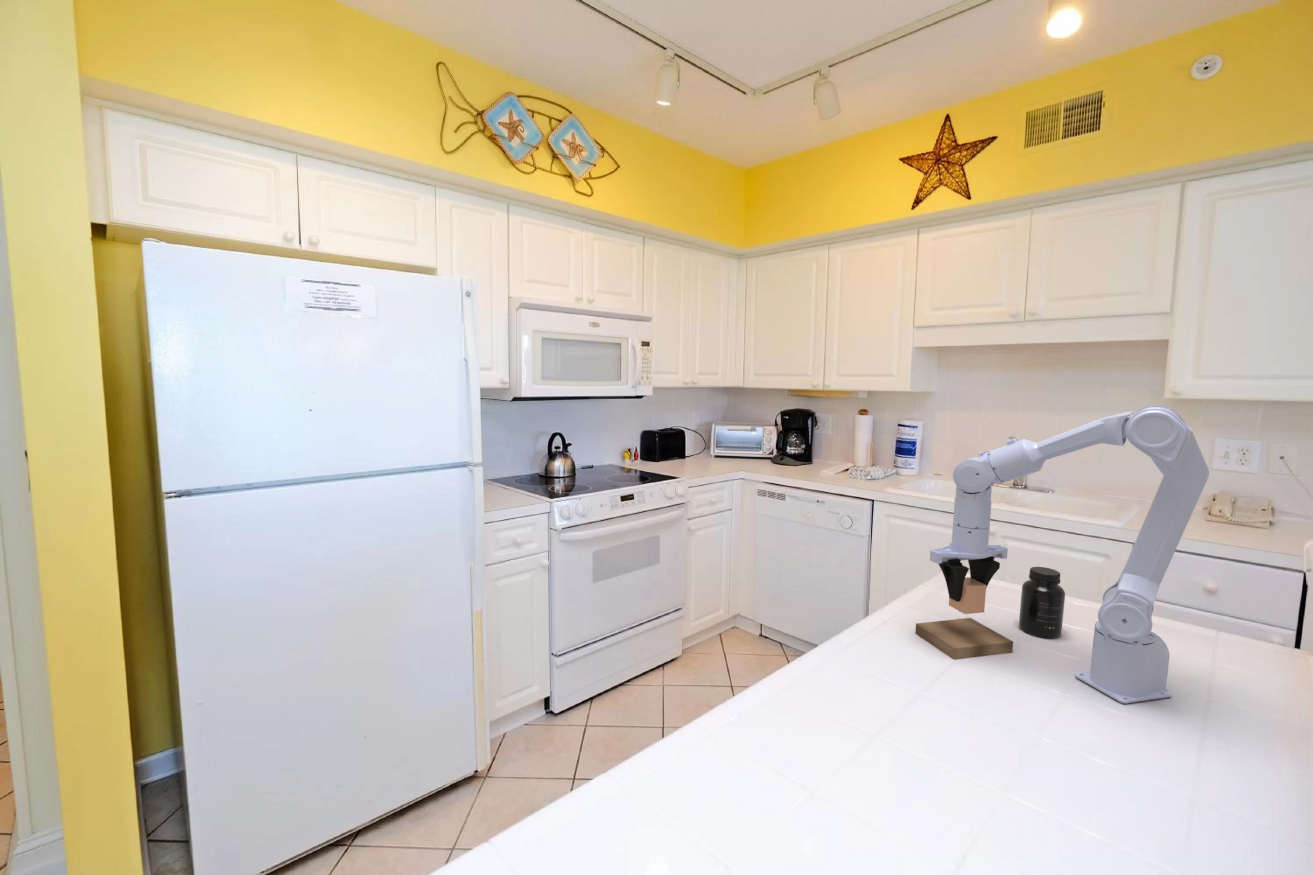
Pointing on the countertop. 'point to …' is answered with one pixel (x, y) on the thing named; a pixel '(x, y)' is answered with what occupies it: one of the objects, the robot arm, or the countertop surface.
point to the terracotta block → (971, 597)
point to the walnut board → (963, 638)
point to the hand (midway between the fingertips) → (965, 598)
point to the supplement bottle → (1042, 603)
